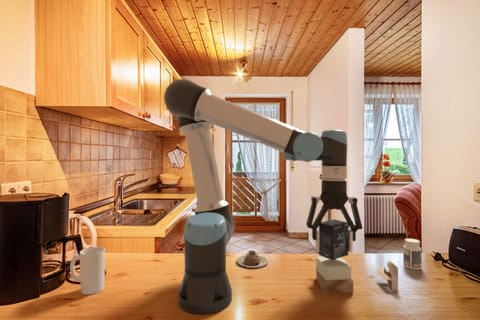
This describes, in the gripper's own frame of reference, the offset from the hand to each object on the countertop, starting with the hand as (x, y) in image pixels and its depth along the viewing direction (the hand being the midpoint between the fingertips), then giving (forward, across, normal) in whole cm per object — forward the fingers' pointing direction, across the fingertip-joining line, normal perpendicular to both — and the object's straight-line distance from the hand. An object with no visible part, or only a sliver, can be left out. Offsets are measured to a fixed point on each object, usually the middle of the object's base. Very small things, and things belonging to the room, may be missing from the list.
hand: (333, 250), depth 85 cm
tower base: (+11, 0, 0) cm, 11 cm away
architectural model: (+12, +18, +1) cm, 21 cm away
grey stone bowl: (+12, -26, +16) cm, 33 cm away
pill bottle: (+11, +33, +17) cm, 38 cm away
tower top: (+7, 0, 0) cm, 7 cm away
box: (+2, 0, 0) cm, 2 cm away
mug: (+11, -75, -10) cm, 77 cm away
